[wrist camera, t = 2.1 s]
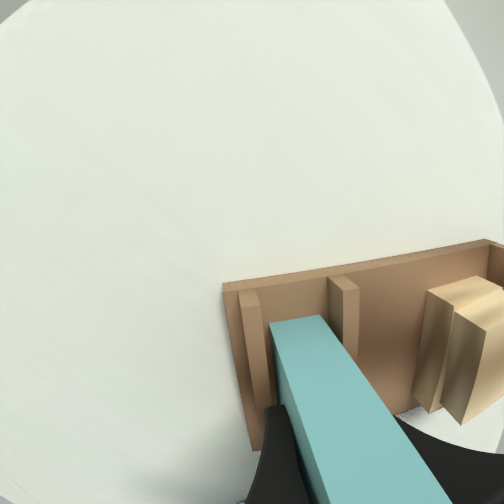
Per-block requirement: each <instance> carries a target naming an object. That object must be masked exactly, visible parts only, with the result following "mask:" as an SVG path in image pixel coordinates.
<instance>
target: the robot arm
mask: <svg viewBox="0 0 504 504" xmlns="http://www.w3.org/2000/svg"><path fill="white" fill-rule="evenodd" d="M264 412H265V432H264V440H263V446H262V451H261V456H260V460H259V464H258V467H257V471H256V474H255V478H254V481H253V483H252V486H251V489H250V491H249V494H248V497H247V499H246V501H245V502H242V503H239V504H310V501H309V498H308V495H307V493H306V490H305V487H304V484H303V481H302V478H301V475H300V471H299V467H298V463H297V457H296V452H295V446H294V440H293V434H292V429H291V423H290V418H289V415H288V412H287V410H286V407H285V405H284V404H282V405H276V406H271V407H267V408H266V409H264ZM392 416H393V417H394V419H395V420H396V421H397V423H398V424H399V426H400V427H401V429H402V430H403V431H404V433H405V434H406V436H407V437H408V439H409V440H410V442H411V443H412V444H413V446H414V447H415V449H416V450H417V452H418V453H419V455H420V456H421V458H422V459H423V460H424V462H425V463H426V465H427V466H428V468H429V469H430V471H431V472H432V474H433V475H434V477H435V478H436V480H437V481H438V483H439V484H440V486H441V487H442V489H443V490H444V492H445V493H446V495H447V496H448V498H449V499H450V501H451V502H452V504H504V454H494V453H487V452H481V451H475V450H471V449H467V448H463V447H460V446H456V445H453V444H450V443H447V442H444V441H442V440H439V439H437V438H435V437H432V436H430V435H428V434H426V433H423V432H422V431H420V430H418V429H416V428H414V427H412V426H411V425H409V424H407V423H405V422H404V421H402V420H401V419H399V418H398V417H396V416H394V415H393V414H392Z"/></svg>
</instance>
